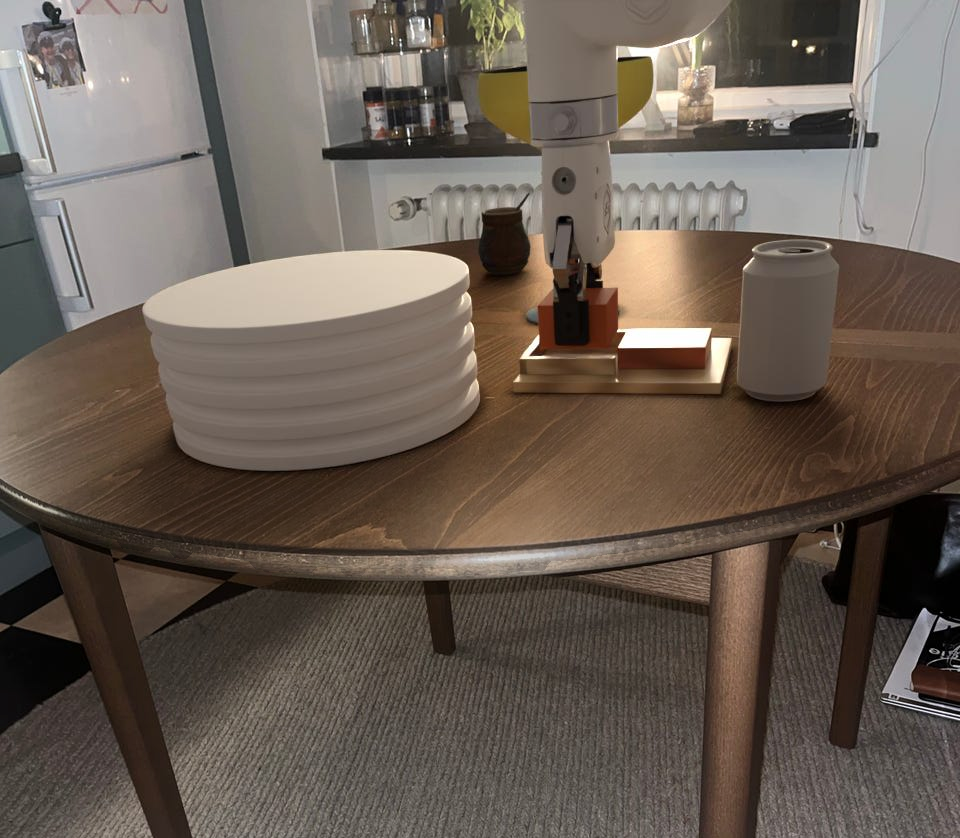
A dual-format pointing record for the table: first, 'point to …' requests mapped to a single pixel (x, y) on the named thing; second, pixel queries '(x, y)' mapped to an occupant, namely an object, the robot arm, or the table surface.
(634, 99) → the cocktail glass
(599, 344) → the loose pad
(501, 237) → the mate gourd
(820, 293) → the can
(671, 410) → the table surface
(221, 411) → the plate stack
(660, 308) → the table surface
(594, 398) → the table surface
